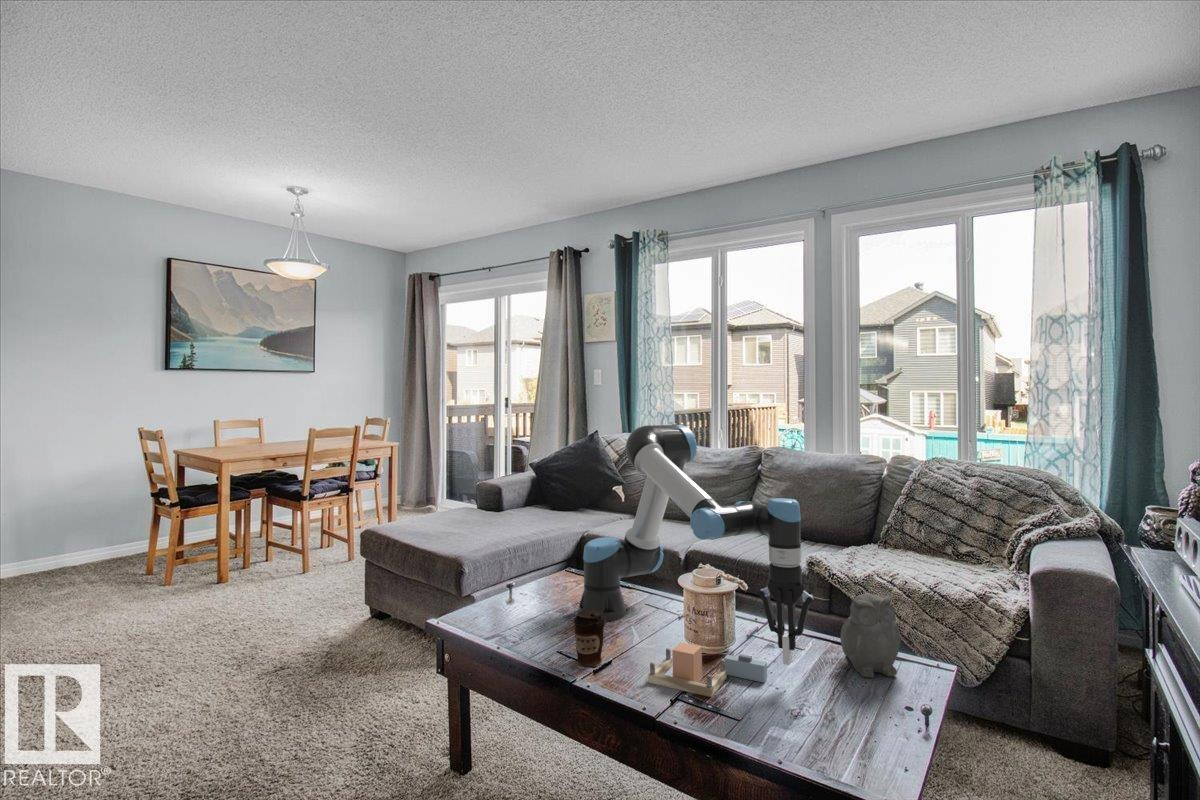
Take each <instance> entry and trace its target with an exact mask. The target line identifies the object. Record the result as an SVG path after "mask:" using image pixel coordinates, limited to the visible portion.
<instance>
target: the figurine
mask: <svg viewBox="0 0 1200 800" xmlns="http://www.w3.org/2000/svg"><path fill="white" fill-rule="evenodd" d="M850 600H851V604H850V606H849V611H850V614H849V616H848V617H847V619H846V620H845V621H844V622H843V625H842V626H841V629H840V630H841V631H840V635H839V636H840V645H841V648H842V651H843V653H844V655H845V656H846V657H847V658H849V660H850V663H851V664H852V666H853V668H854V670H855V671H856V672H858V673H859V674H860V675H861V677H864V678H874V676H875V673H880V674H883V675H884V676H887V677H895V676H896V675H897V673H898V670H897V668H896V667H894V663H895V662H896V660H897V657H898V654H899V648H900V646H901V642H902V641H901V635H900V634H901V633H900V628H899V625H898V623H897V622H896V621H895V618H896V609H895V608H894V606H893V605H891V601H892V600H893V595H892V593H891V592H888V593H887V594H886V595H885V596H884V597H882V596H880V595H878V594H877V595H876V594H872V593H861V594H859V595H857V596H855V597H852V596H850Z"/></svg>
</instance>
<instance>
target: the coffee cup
mask: <svg viewBox="0 0 1200 800" xmlns="http://www.w3.org/2000/svg"><path fill="white" fill-rule="evenodd" d="M605 620H606V618H605V617H604V616H603V612H601V611H597V610H585V611H582V612H579V611H577V613H576V616H575V617H574V619H573V625H574V638H575V650H576V655H577V663H578V665H579V666H583V667H597V666H600V665H602V663H603V661H602V651H603V646H604V635H605V634H604V633H605V632H604V631H605V625H606V621H605Z"/></svg>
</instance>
